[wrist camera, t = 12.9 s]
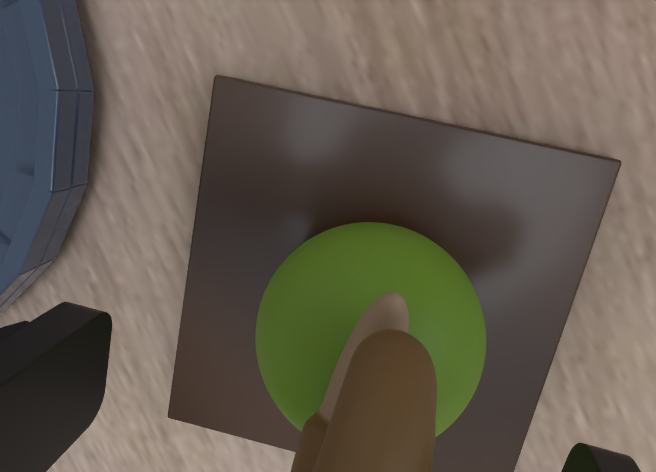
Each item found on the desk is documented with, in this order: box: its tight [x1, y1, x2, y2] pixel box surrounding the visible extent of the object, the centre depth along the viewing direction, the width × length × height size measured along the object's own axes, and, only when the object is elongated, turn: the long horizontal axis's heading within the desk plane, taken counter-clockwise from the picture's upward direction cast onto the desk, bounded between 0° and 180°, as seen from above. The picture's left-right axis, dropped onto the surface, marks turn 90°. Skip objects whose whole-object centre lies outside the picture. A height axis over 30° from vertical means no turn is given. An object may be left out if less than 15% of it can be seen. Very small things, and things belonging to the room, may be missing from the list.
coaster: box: [168, 75, 621, 472], centre depth 16 cm, size 11×11×1 cm
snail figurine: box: [255, 222, 486, 472], centre depth 10 cm, size 5×6×12 cm
